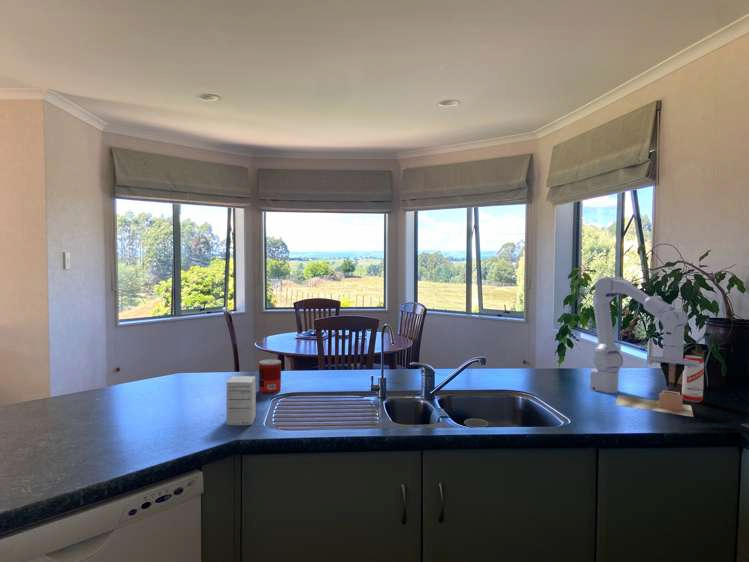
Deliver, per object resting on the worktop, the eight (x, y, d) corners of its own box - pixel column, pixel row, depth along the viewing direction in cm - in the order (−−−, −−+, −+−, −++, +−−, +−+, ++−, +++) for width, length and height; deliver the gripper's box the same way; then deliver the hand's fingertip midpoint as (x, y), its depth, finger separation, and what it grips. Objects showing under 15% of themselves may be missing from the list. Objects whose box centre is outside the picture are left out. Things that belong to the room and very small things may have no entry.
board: (614, 408, 158) (615, 395, 158) (617, 398, 170) (618, 386, 170) (693, 420, 146) (694, 407, 146) (690, 409, 158) (691, 396, 158)
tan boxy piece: (659, 407, 155) (659, 392, 155) (659, 404, 159) (659, 389, 159) (682, 411, 152) (682, 395, 151) (681, 407, 156) (682, 392, 156)
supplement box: (231, 417, 141) (231, 375, 141) (256, 416, 142) (256, 375, 142) (225, 425, 134) (225, 382, 134) (251, 425, 135) (252, 382, 134)
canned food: (284, 389, 173) (285, 360, 172) (271, 395, 165) (271, 364, 165) (268, 387, 176) (268, 358, 175) (254, 392, 169) (254, 362, 168)
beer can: (705, 403, 165) (707, 358, 165) (686, 402, 166) (688, 357, 166) (697, 398, 171) (699, 355, 171) (678, 397, 173) (680, 354, 172)
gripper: (647, 345, 155) (645, 385, 155) (700, 349, 147) (698, 392, 148) (647, 342, 161) (646, 381, 161) (698, 346, 153) (697, 387, 154)
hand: (671, 386), depth 155 cm, fingers closed
